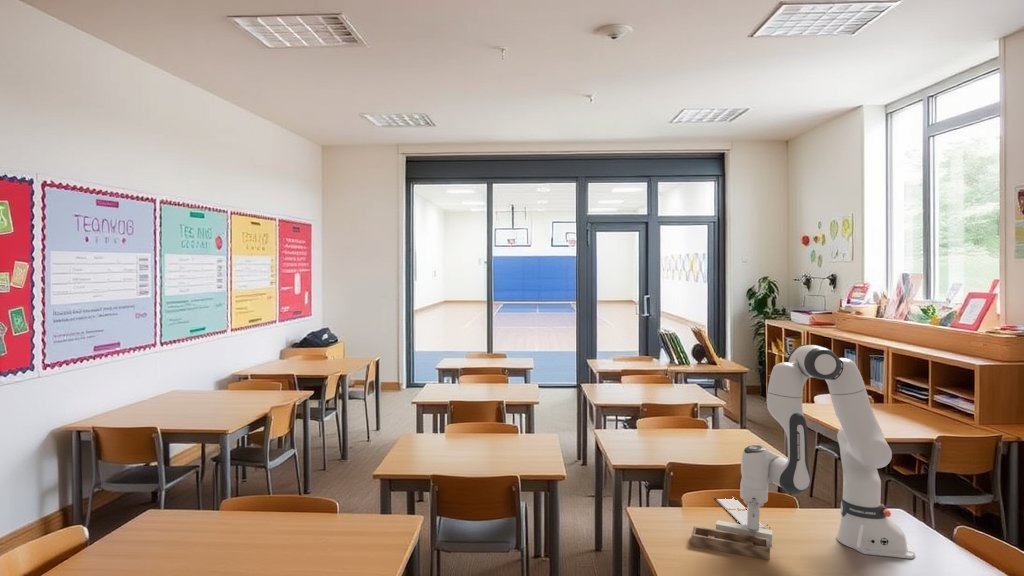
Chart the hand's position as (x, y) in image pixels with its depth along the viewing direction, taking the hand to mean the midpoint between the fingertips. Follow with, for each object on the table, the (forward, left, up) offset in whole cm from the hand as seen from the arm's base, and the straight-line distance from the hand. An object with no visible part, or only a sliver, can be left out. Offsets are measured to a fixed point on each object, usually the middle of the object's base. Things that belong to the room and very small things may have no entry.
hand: (752, 533), depth 203 cm
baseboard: (+4, -23, -3) cm, 24 cm away
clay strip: (+3, 0, -2) cm, 4 cm away
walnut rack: (+7, +10, -2) cm, 12 cm away
